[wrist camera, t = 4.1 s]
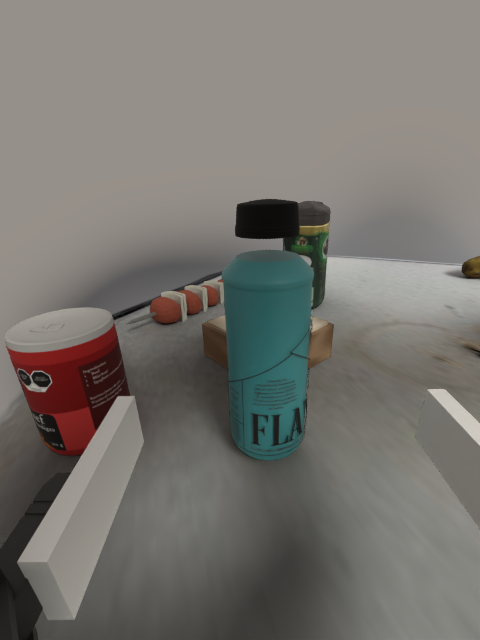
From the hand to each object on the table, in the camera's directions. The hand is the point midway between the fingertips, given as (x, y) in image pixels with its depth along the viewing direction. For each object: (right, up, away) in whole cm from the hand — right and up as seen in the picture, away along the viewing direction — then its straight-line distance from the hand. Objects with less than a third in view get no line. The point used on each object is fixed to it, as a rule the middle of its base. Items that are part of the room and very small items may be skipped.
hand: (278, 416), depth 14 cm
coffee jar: (+11, +8, +46) cm, 48 cm away
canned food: (-16, -6, +15) cm, 23 cm away
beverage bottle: (+1, -7, +13) cm, 14 cm away
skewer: (-10, +6, +44) cm, 46 cm away
